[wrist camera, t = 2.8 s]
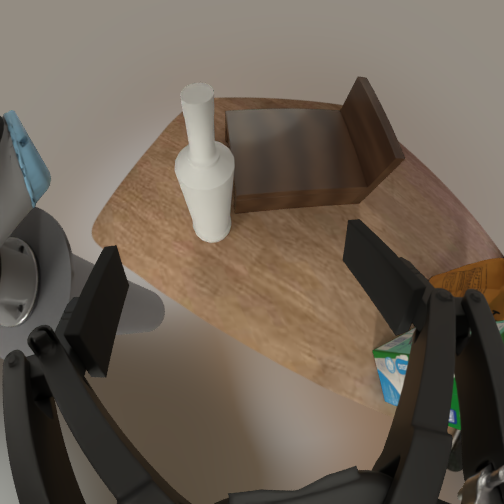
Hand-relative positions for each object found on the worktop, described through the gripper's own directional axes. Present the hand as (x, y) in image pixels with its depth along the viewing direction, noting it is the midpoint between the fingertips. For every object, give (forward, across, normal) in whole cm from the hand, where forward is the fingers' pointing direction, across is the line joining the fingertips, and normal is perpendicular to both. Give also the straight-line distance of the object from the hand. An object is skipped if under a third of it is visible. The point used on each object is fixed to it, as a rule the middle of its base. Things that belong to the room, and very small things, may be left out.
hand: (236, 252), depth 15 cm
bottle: (+23, -1, -9) cm, 24 cm away
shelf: (+28, +11, -3) cm, 31 cm away
